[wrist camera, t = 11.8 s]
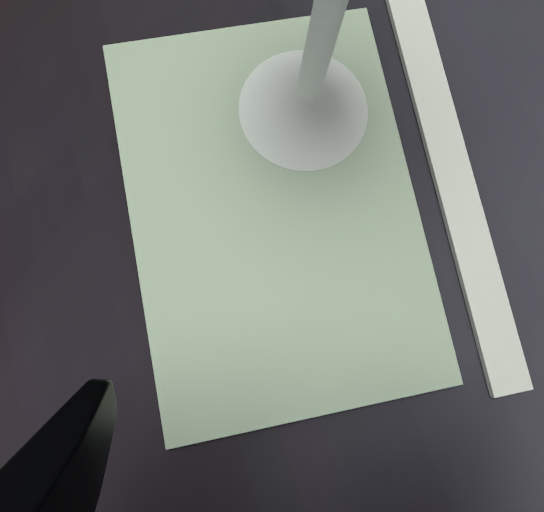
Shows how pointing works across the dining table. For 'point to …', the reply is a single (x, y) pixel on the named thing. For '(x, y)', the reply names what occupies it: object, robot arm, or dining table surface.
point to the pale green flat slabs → (297, 237)
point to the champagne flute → (305, 100)
